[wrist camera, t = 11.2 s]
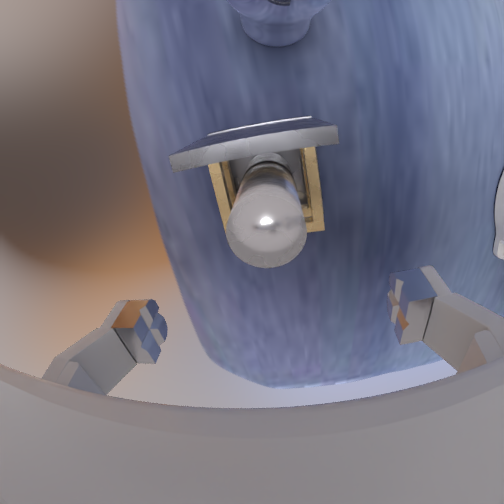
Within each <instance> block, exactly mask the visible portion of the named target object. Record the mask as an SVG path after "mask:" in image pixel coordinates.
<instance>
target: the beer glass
mask: <svg viewBox="0 0 504 504" xmlns="http://www.w3.org/2000/svg"><path fill="white" fill-rule="evenodd" d="M226 1H227V2H228V3H229V4H230V5H231V6H232V7H233V8H234V9H235V10H236V11H237V12H239V13H240V14H241V24H242V27H243V29H244V31H245V32H246V34H247V35H248V36H249V37H250V38H252V39H253V40H254V41H256V42H258V43H260V44H263V45H267V46H272V47H282V46H287V45H291V44H293V43H296V42H297V41H299V40H300V39H302V38H303V37H304V36H305V35H306V33H307V32H308V30H309V27H310V23H311V18H312V17H313V16H314V15H316V14H317V13H319V12H320V11H321V10H322V9H323V8H324V7H325V6H327V5H328V4H329V2H330V1H331V0H226Z"/></svg>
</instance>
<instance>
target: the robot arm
mask: <svg viewBox="0 0 504 504" xmlns="http://www.w3.org/2000/svg"><path fill="white" fill-rule="evenodd" d="M495 225H496V237H495V242H494V248H493V253H494V255H495V256H497V257H498V258H500V259H503V260H504V172H503V174H502V177H501V179H500V183H499V186H498V190H497V195H496V201H495ZM389 285H390V287H391V290H390V291H389V293H388V294H387V310H388V314H389V318H390V320H391V321H392V322H393V323H395V330H394V331H395V333H396V336H397V339H398V341H399V344H400V345H402V344H408V343H413V342H418V341H422V340H423V342H424V343H425V344H426V345H427V346H429V347H430V348H431V349H432V350H433V351H435V352H436V353H437V354H438V355H439V356H440V357H442V358H443V359H444V360H445V361H446V362H447V363H449V364H450V365H451V366H452V367H453V368H454V369H456V370H457V373H456V375H453V376H450V377H447V378H444V379H440V380H437V381H434V382H431V383H427V384H423V385H419V386H416V387H412V388H408V389H404V390H399V391H396V392H391V393H386V394H381V395H376V396H372V397H366V398H360V399H354V400H347V401H341V402H333V403H325V404H316V405H308V406H307V405H306V406H295V407H280V408H249V409H248V408H247V409H246V408H240V409H239V408H205V407H189V406H177V405H167V404H158V403H149V402H142V401H135V400H129V399H123V398H117V397H112V396H107V394H108V393H109V392H110V391H111V390H112V389H113V388H114V387H115V386H116V385H117V384H118V383H119V382H120V381H121V379H122V378H124V377H125V376H126V375H127V374H128V373H129V372H130V371H131V370H132V369H133V368H134V367H135V366H136V365H137V364H136V363H145V364H146V363H147V364H155V363H156V361H157V359H158V356H159V354H160V352H161V349H160V345H161V344H162V343H163V342H165V340H166V337H167V325H166V321H165V319H164V317H163V316H161V315H160V314H159V313H158V309H159V307H158V305H157V303H156V302H155V301H154V300H152V299H144V300H122V301H118V302H117V303H116V304H115V306H114V308H113V309H112V311H111V312H110V313H109V315H108V317H107V318H106V319H105V321H104V323H103V324H102V325H101V327H100V328H96V329H95V330H93V331H92V332H90V333H89V334H88V335H86V336H85V337H83V338H82V339H80V340H79V341H78V342H76V343H75V344H73V345H72V346H70V347H69V348H67V349H66V350H65V351H64V352H62V353H60V354H59V355H58V356H56V357H55V358H54V359H53V361H52V363H51V364H50V366H49V367H48V369H47V370H46V372H45V374H44V375H43V377H42V379H41V378H37V377H35V376H31V375H29V374H26V373H23V372H20V371H17V370H15V369H12V368H9V367H7V366H4V365H2V364H0V504H504V318H503V317H502V316H500V315H498V314H496V313H494V312H492V311H490V310H488V309H487V308H485V307H483V306H481V305H479V304H477V303H475V302H473V301H471V300H469V299H467V298H465V297H463V296H461V295H459V294H457V293H452V292H451V291H450V290H449V288H448V287H447V285H446V284H445V282H444V281H443V280H442V278H441V277H440V275H439V274H438V273H437V271H436V270H435V269H434V267H433V266H431V265H428V266H423V267H418V268H415V269H410V270H404V271H398V272H392V273H390V276H389Z"/></svg>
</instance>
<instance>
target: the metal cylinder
mask: <svg viewBox="0 0 504 504" xmlns="http://www.w3.org/2000/svg"><path fill="white" fill-rule="evenodd" d="M226 237H227V241H228V244H229V246H230V248H231V250H232V251H233V252H234V254H235V255H236V256H237V257H238V258H240V259H241V260H242V261H244V262H245V263H247V264H250V265H252V266H255V267H260V268H273V267H278V266H282V265H284V264H286V263H288V262H290V261H291V260H293V259H294V258H295V257H296V256H297V255H298V254H299V253H300V252H301V250H302V249H303V246H304V244H305V241H306V237H307V227H306V223H305V219H304V215H303V211H302V207H301V204H300V200H299V197H298V193H297V189H296V186H295V181H294V178H293V175H292V172H291V169H290V166H289V164H288V162H287V161H286V160H285V159H284V158H283V157H282V156H280V155H278V154H275V153H266V154H260V155H257V156H255V157H254V158H253V159H252V160H251V161H250V163H249V164H248V166H247V169H246V172H245V174H244V176H243V179H242V182H241V185H240V188H239V191H238V194H237V196H236V199H235V202H234V205H233V207H232V210H231V213H230V216H229V219H228V222H227V226H226Z"/></svg>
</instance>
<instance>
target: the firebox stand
mask: <svg viewBox="0 0 504 504" xmlns="http://www.w3.org/2000/svg"><path fill="white" fill-rule="evenodd" d="M332 144H339V138H338V131H337V125H334V124H331V123H328V122H325V121H322V120H318V119H315V118H312V117H311V116H304V117H296V118H289V119H282V120H275V121H269V122H263V123H257V124H252V125H247V126H242V127H237V128H232V129H227V130H222V131H218V132H214V133H210V134H208V136H206V137H204V138H202V139H200V140H198V141H196V142H194V143H192V144H190V145H188V146H186V147H184V148H183V149H181V150H179V151H177V152H175V153H173V154H171V155H170V156H169V159H170V163H171V166H172V170H173V173H175V172H179V171H183V170H187V169H192V168H196V167H200V166H205V165H208V167H209V171H210V175H211V179H212V183H213V187H214V191H215V195H216V199H217V202H218V206H219V210H220V214H221V218H222V222H223V225H224V229H225V233H226V226H227V222H228V219H229V216H230V213H231V210H232V207H233V205H234V202H235V199H236V196H237V194H238V191H239V188H240V185H241V182H242V179H243V176H244V174H245V172H246V169H247V166H248V164H249V163H250V161H251V160H252V159H253V158H254V157H255V156H257V155H260V154H266V153H275V154H278V155H280V156H282V157H283V158H284V159H285V160H286V161H287V162H288V164H289V166H290V169H291V172H292V175H293V178H294V181H295V186H296V189H297V193H298V197H299V200H300V204H301V207H302V211H303V215H304V217H308V218H304V219H305V223H306V227H307V233H308V232H315V231H322V230H325V228H324V218H323V214H324V209H323V200H322V191H321V183H320V175H319V167H318V160H317V153H316V146H323V145H332ZM311 216H312V217H311Z"/></svg>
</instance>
